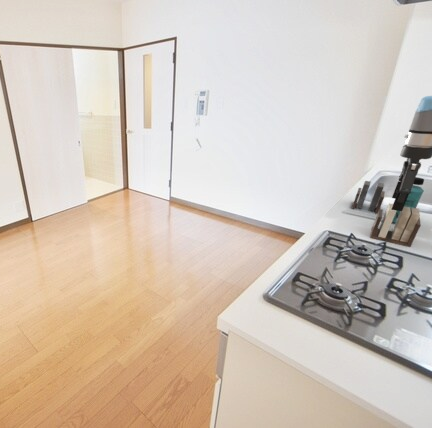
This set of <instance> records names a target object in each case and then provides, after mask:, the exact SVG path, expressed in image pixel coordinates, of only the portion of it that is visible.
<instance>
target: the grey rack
mask: <svg viewBox="0 0 432 428" xmlns="http://www.w3.org/2000/svg"><path fill="white" fill-rule="evenodd" d="M371 183H372V182H371V181H369V180H365V181H364V183H363V186H362V187H358V189H357V191H356V194H355V196H354V197H355V198H354V201H353V203H352V207H351V210H355V209H356V210H362V209H363V206H364V204H365V201H366V198H367V195H368V192H369V189H370V186H371ZM384 187H385V183H383V182H377V184H376V186H375V189H374V192H373V195H372V197H371V200H370V203H369V206H368V210H367V211H368V212H373V213H374V214H376V215H377V214H378V211H379V209H381V207H382V204H383V202H384V199H385V193H386V192H385V191H384V190H383V189H384Z"/></svg>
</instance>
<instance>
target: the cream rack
mask: <svg viewBox="0 0 432 428" xmlns="http://www.w3.org/2000/svg"><path fill="white" fill-rule="evenodd" d="M383 211H384V209H383V208H380V209H379V211H378V214H376V216H375V219H374V222H373V224H372V226H371V231H370V236H369V238H370V239H373V240H378V241H382V242H387V243H391V244H396V245H399V246H404V247H409V248H412V244H413V243H414V240H415V238H416V236H417V234H418V232H419V230H420V227H421V224H422V223H421V218H420V216H421V212H420V208H417V207H416V208H411V210H410V207H405V206H404V208H403V210H402V211H400V214H399V216H398V218H397V221H396V223H394V225H393V227H392V230H390V229H389V230H388V233H387V235H386V237H385V238H382V237H378V233H379V227H380V225H381V222H382V220H383Z"/></svg>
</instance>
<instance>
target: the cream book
mask: <svg viewBox="0 0 432 428" xmlns="http://www.w3.org/2000/svg"><path fill="white" fill-rule="evenodd" d="M393 204H394V203H390V202H389V203H388V205H387V208H386V211H385V213H384V214H383V216H382V219H381V221H380V224H379V226H378V228H379V233H378V237H382V238H385V237H386V235H387V233H388V230H389V231H390V229H391V227H392V226H391V225H392V223H393V222H392V221H393V218H394V216H395V214H396V210H391V209H392V206H393Z"/></svg>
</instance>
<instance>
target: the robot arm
mask: <svg viewBox="0 0 432 428" xmlns="http://www.w3.org/2000/svg"><path fill="white" fill-rule="evenodd" d="M414 112H415V113H414V115H413V118H412V120H411V123H410V126H409V130H408V134H405V135H404V136H403V137H404V138H405V141H404V145H403V146H402V148H401V151H400V157H402V158H405V159H406V160H405V161H404V162H403V167H402V168H401V172H400V175H399V176H398V177H399V178H398V181H397V183H396V185H395V188H394V190H393V193H392V196H391V199H394V201H393V203H392V204H393V206H392V209H391V210H396V211H402V210H403V208H404V205H405V203H406V200H407V198H408V195H409V194H410V193H411V189H412V186H413V185H414V184H413V183H414V180H415V177H417V175H418V174H419V170H420V169H421V166H422V161H421V162H420V160H429V159H431V158H432V95H427V96H423V97H422V98H421V99H420V101H419V103H418V105H417V108H416V109H415V111H414ZM406 189H408V190H406Z"/></svg>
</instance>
